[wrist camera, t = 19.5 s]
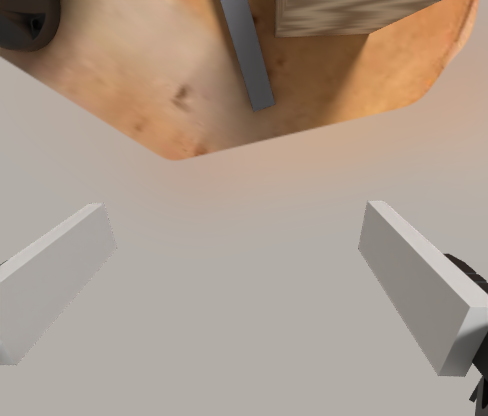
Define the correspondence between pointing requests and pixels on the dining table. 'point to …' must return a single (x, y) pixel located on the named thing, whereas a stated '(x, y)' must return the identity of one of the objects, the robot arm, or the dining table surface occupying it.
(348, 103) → the dining table surface
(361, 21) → the tall wooden block
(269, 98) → the bar
